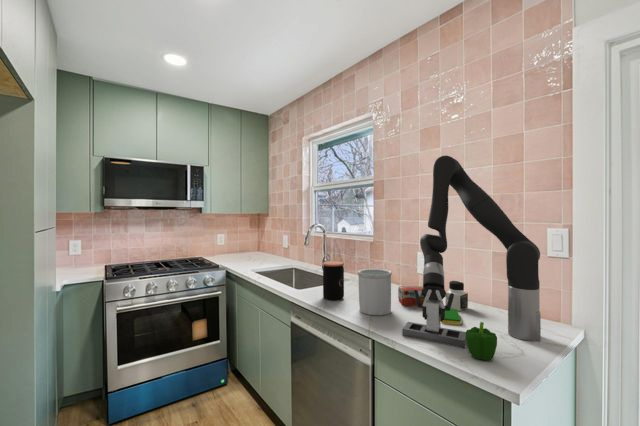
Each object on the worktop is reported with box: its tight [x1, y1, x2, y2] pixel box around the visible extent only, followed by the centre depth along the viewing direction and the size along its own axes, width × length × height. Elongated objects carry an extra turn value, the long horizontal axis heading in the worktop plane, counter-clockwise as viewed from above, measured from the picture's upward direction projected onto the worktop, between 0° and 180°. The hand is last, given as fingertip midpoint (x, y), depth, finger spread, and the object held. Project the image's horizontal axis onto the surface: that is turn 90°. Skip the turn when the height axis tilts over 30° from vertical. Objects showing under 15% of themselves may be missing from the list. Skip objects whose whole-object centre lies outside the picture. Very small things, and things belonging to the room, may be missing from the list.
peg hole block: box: [401, 321, 467, 349], centre depth 105 cm, size 20×8×2 cm, turn 59°
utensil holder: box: [357, 268, 393, 316], centre depth 134 cm, size 15×15×18 cm
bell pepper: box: [465, 321, 498, 362], centre depth 91 cm, size 8×8×10 cm
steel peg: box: [425, 299, 442, 332], centre depth 105 cm, size 4×4×10 cm
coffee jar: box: [322, 260, 345, 302], centre depth 154 cm, size 11×11×18 cm
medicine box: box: [397, 285, 425, 307], centre depth 144 cm, size 15×8×8 cm, turn 89°
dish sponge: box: [441, 309, 462, 326], centre depth 124 cm, size 7×14×2 cm, turn 162°
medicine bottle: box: [444, 280, 469, 312], centre depth 137 cm, size 7×7×12 cm
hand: (433, 319), depth 104 cm, fingers closed on steel peg, 4 cm apart
